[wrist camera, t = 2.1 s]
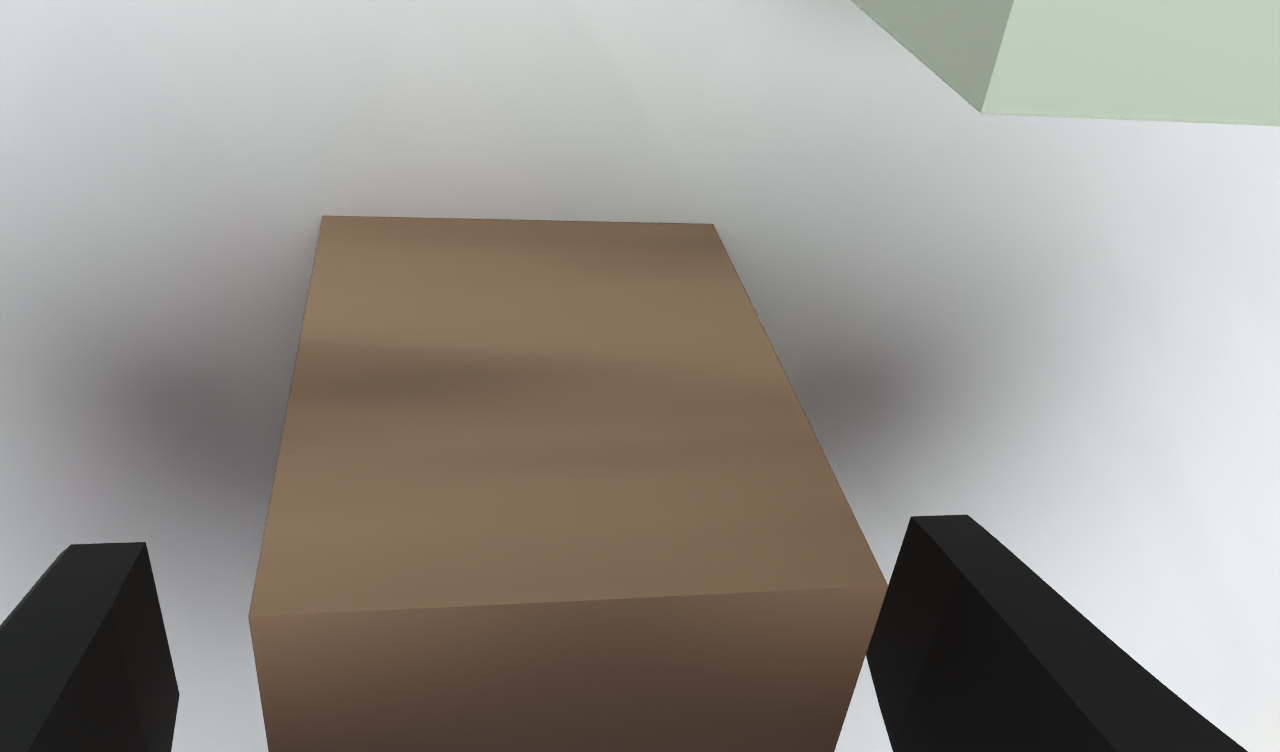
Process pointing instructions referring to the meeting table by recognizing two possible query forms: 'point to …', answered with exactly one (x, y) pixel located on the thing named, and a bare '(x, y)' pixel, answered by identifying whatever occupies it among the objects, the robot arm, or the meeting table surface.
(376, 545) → the walnut block
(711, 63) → the meeting table surface
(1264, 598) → the meeting table surface
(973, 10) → the green cube
